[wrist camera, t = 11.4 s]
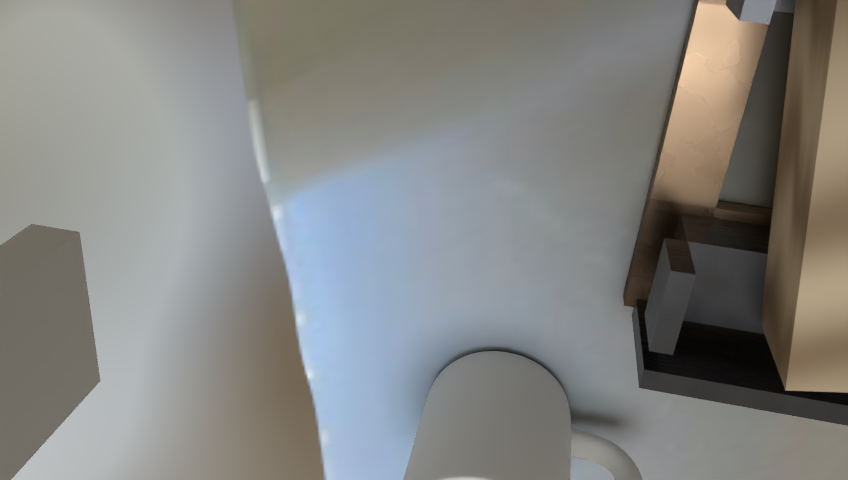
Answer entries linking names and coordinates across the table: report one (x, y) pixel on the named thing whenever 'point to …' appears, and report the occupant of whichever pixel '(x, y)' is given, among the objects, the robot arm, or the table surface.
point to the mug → (504, 426)
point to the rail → (811, 208)
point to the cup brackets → (710, 234)
